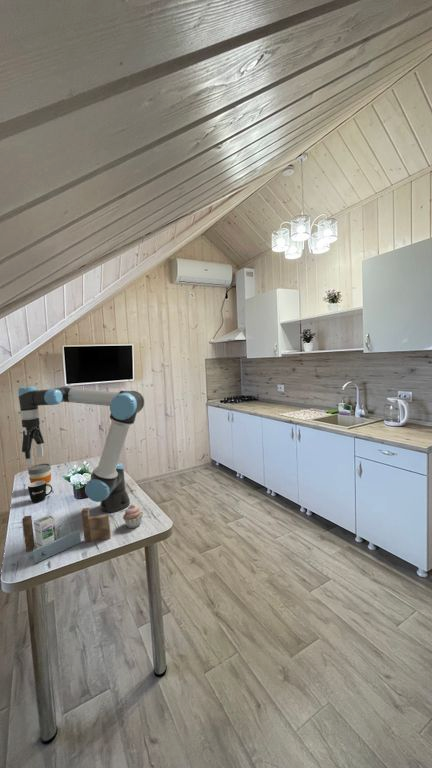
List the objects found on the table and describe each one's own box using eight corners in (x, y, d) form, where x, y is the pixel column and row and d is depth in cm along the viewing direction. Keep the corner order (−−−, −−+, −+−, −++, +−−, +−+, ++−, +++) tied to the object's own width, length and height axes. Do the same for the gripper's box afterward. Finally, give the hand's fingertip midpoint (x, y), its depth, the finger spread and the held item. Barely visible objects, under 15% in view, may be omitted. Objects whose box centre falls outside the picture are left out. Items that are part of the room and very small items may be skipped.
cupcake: (125, 532, 142) (122, 511, 141) (122, 523, 150) (120, 502, 150) (145, 526, 146) (144, 505, 145) (142, 518, 154) (140, 498, 153)
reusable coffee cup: (57, 487, 202) (54, 464, 201) (37, 495, 192) (34, 471, 191) (46, 484, 209) (43, 462, 208) (26, 491, 199) (23, 468, 198)
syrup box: (44, 558, 126) (40, 523, 125) (37, 554, 130) (33, 520, 129) (58, 551, 131) (54, 517, 130) (51, 547, 134) (47, 514, 133)
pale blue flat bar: (79, 541, 137) (78, 530, 136) (82, 542, 135) (80, 531, 135) (34, 562, 124) (32, 550, 123) (35, 564, 122) (34, 552, 122)
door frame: (111, 535, 140) (107, 505, 139) (110, 538, 137) (106, 507, 136) (28, 547, 135) (24, 516, 134) (26, 551, 132) (22, 519, 131)
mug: (29, 505, 178) (27, 488, 177) (30, 499, 186) (28, 483, 185) (53, 499, 184) (51, 482, 183) (53, 494, 192) (51, 478, 191)
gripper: (32, 414, 167) (36, 454, 168) (10, 423, 142) (15, 469, 144) (47, 413, 168) (51, 452, 170) (28, 422, 143) (33, 467, 145)
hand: (35, 460), depth 157 cm, fingers open, 13 cm apart
